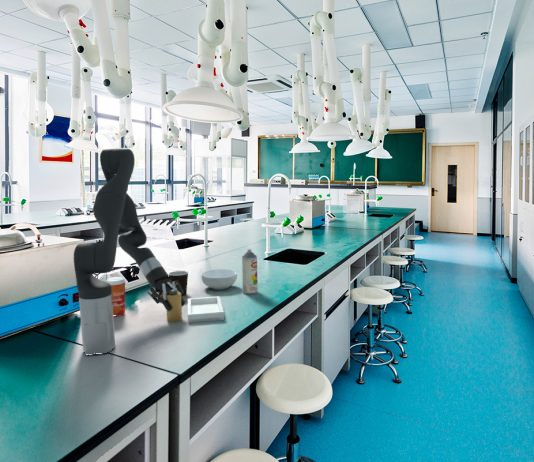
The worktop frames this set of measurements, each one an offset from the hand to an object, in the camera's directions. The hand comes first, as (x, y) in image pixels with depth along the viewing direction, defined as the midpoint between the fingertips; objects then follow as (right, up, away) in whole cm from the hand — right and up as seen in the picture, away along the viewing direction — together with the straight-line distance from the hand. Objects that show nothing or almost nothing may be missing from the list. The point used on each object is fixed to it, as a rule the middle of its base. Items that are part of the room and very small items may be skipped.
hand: (177, 307), depth 147 cm
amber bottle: (-1, -5, +2) cm, 5 cm away
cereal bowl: (+10, +1, +44) cm, 46 cm away
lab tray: (+9, -4, +9) cm, 13 cm away
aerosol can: (+26, 0, +35) cm, 43 cm away
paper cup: (-25, -4, +8) cm, 27 cm away
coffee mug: (-8, -1, +34) cm, 35 cm away
